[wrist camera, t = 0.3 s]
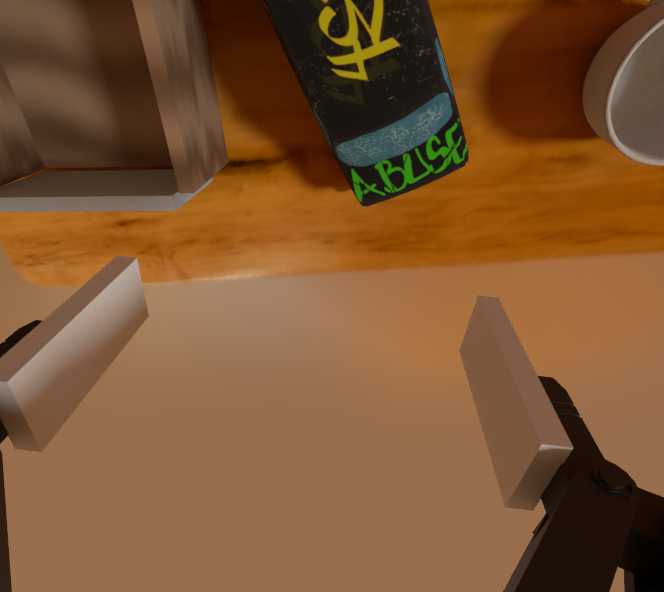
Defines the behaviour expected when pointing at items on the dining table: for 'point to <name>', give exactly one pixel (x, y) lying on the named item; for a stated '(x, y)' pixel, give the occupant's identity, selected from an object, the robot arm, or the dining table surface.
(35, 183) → the panel
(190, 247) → the dining table surface
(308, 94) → the toy van
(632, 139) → the teacup
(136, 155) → the crate
